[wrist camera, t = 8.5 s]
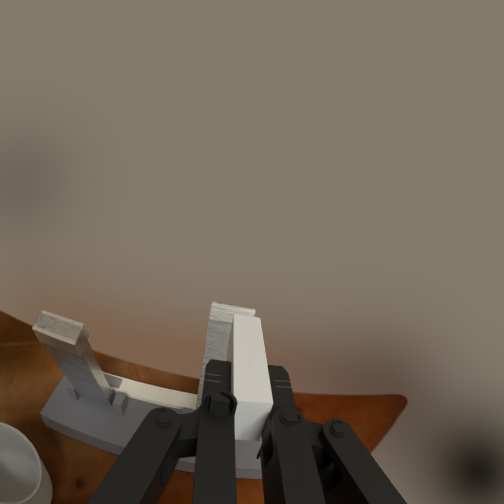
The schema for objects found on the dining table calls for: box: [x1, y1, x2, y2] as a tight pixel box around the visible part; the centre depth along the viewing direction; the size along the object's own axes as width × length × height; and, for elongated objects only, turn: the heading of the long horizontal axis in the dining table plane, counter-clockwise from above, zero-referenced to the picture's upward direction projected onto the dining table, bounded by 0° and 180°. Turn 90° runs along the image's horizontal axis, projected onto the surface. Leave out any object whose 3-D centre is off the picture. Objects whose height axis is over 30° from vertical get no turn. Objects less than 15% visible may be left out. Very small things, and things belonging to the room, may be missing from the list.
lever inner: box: [32, 310, 115, 406], centre depth 25 cm, size 5×2×17 cm, turn 92°
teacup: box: [0, 422, 53, 504], centre depth 11 cm, size 14×11×8 cm
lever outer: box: [196, 301, 255, 410], centre depth 32 cm, size 5×2×17 cm, turn 92°
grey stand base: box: [40, 371, 262, 479], centre depth 31 cm, size 30×12×6 cm, turn 92°
